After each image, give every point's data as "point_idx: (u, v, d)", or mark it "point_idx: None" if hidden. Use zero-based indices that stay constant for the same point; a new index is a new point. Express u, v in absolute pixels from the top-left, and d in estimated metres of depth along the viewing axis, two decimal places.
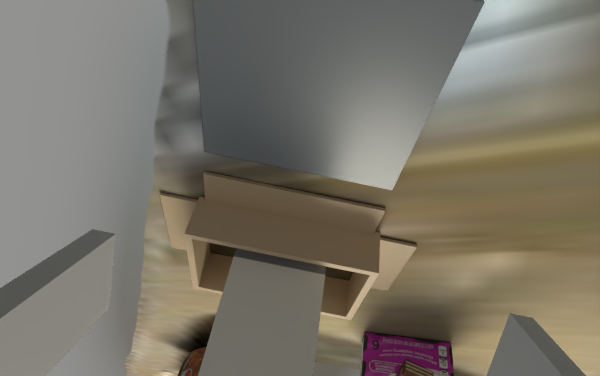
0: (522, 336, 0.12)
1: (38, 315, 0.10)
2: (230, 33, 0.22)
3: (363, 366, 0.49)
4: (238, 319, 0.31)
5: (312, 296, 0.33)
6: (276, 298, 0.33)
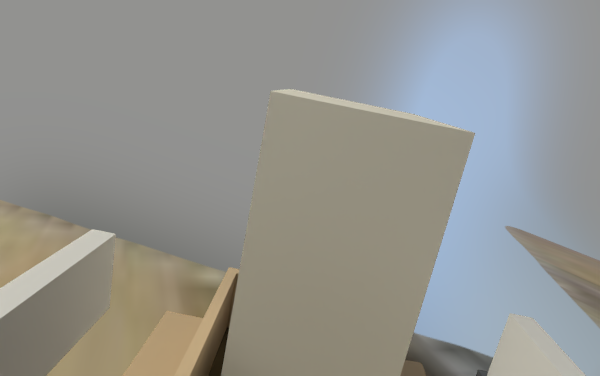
0: (522, 335, 0.12)
1: (38, 315, 0.10)
2: None
3: None
4: None
5: None
6: None
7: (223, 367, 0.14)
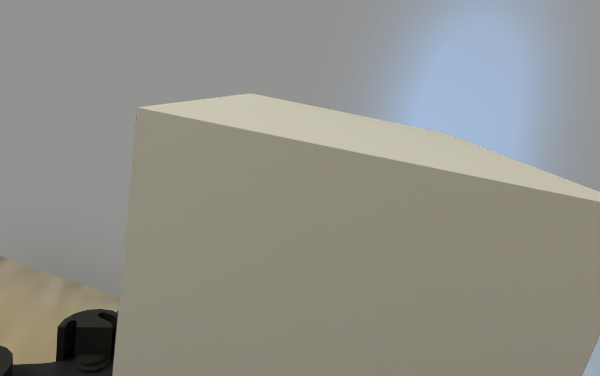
0: None
1: None
2: None
3: None
4: None
5: None
6: None
7: None
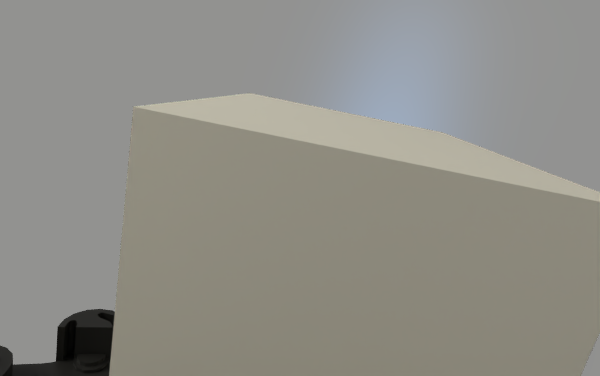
0: None
1: None
2: None
3: None
4: None
5: None
6: None
7: None
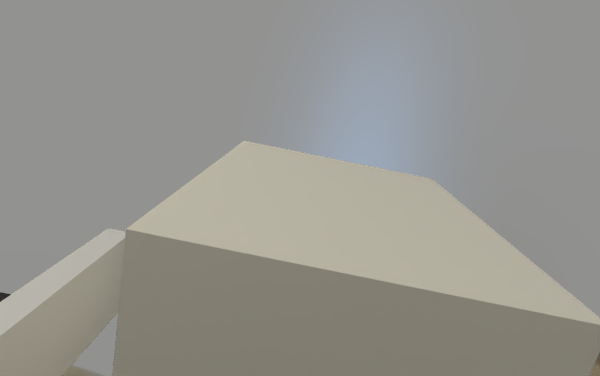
0: None
1: (61, 311, 0.10)
2: None
3: None
4: None
5: None
6: None
7: None
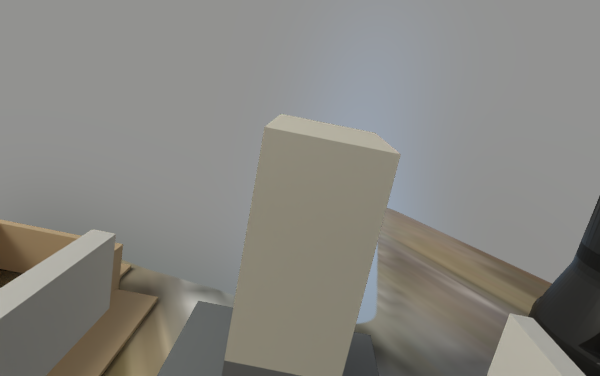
0: (522, 335, 0.12)
1: (38, 315, 0.10)
2: None
3: None
4: None
5: None
6: None
7: (232, 317, 0.20)
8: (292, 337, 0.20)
